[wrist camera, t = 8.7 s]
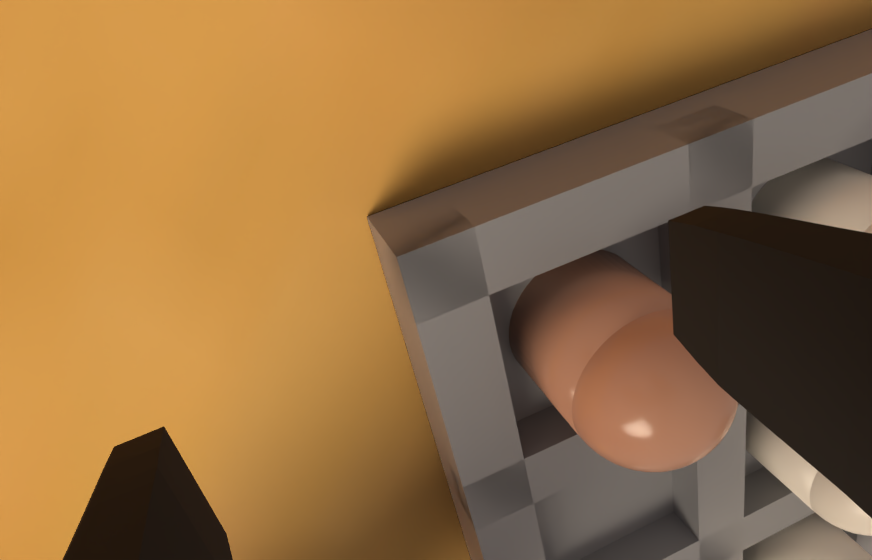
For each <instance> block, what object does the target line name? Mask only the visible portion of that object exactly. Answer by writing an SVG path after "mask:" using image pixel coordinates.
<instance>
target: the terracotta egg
mask: <svg viewBox="0 0 872 560" xmlns="http://www.w3.org/2000/svg"><path fill="white" fill-rule="evenodd" d="M509 342H510V347H511V350H512V353H513V355H514V357H515V359H516V360H517V362H518V363H519V364H520V366H521V367H522V368H523V369H524V370H525V372H526V373H527V374H528V375H529V376H530V378H531V379H532V380H533V381H534V382H535V384H536V385H537V386H538V387H539V388H540V390H541V391H542V392H543V393H544V394H545V396H546V397H547V398H548V399H549V400H550V402H551V403H552V404H553V405H554V406H555V408H556V409H557V410H558V411H559V412H560V414H561V415H562V416H563V417H564V418H565V420H566V421H567V422H568V423H569V424H570V426H571V427H572V428H573V429H574V430H575V432H576V433H577V434H578V435H579V436H580V438H581V439H582V440H583V441H584V442H585V443H586V444H587V445H588V446H589V447H590V448H591V449H592V450H593V451H595V452H596V453H597V454H599V455H600V456H601V457H603V458H605V459H606V460H608V461H610V462H612V463H614V464H616V465H618V466H621V467H624V468H627V469H630V470H635V471H641V472H668V471H672V470H676V469H680V468H683V467H686V466H689V465H691V464H693V463H695V462H697V461H698V460H700V459H702V458H703V457H705V456H706V455H707V454H709V453H710V452H711V451H712V450H713V449H714V448H716V446H717V445H718V444H719V443H720V442H721V441H722V440H723V438H724V437H725V435H726V434H727V432H728V431H729V429H730V427H731V425H732V423H733V421H734V418H735V415H736V412H737V408H738V402H737V401H736V400H734V399H733V398H732V397H731V396H730V395H729V394H728V393H727V392H725V391H724V390H723V389H722V388H721V387H720V386H719V385H718V384H717V383H716V382H715V381H714V380H713V379H712V378H711V377H710V376H709V375H708V373H707V372H706V371H705V370H704V369H703V368H702V367H701V366H700V365H699V364H698V363H697V361H696V360H695V359H694V358H693V357H692V356H691V354H690V353H689V352H688V351H687V350H686V349H685V347H684V346H683V345H682V344H681V343H680V341H679V340H678V339H677V338H676V337H675V336H674V334H673V315H672V294H670V293H669V292H668V291H666V290H665V289H664V288H662V287H661V286H659V285H658V284H657V283H655V282H654V281H653V280H651V279H650V278H649V277H647V276H646V275H644V274H643V273H642V272H640V271H639V270H638V269H636V268H635V267H634V266H632V265H631V264H630V263H628V262H627V261H625V260H624V259H623V258H621V257H620V256H618V255H616V254H614V253H612V252H609V251H605V250H598V251H596V252H593V253H591V254H589V255H586V256H584V257H581V258H579V259H576V260H574V261H571V262H569V263H567V264H564V265H562V266H559V267H557V268H554V269H552V270H549V271H547V272H545V273H542V274H540V275H537V276H535V277H534V278H533V279H532V280H531V281H530V283H529V284H528V285H527V286H526V288H525V289H524V290H523V292H522V293H521V295H520V297H519V299H518V300H517V302H516V305H515V307H514V309H513V312H512V316H511V319H510V325H509Z"/></svg>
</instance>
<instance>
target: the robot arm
mask: <svg viewBox="0 0 872 560" xmlns="http://www.w3.org/2000/svg"><path fill="white" fill-rule="evenodd" d="M668 229H669V250H670V272H671V293H672V315H673V334H674V336H675V337H676V338H677V339H678V340H679V341H680V343H681V344H682V345H683V346H684V347H685V349H686V350H687V351H688V352H689V353H690V354H691V356H692V357H693V358H694V359H695V360H696V361H697V363H698V364H699V365H700V366H701V367H702V368H703V369H704V370H705V371H706V372H707V373H708V375H709V376H710V377H711V378H712V379H713V380H714V381H715V382H716V383H717V384H718V385H719V386H720V387H721V388H722V389H723V390H724V391H725V392H727V393H728V394H729V395H730V396H731V397H732V398H733V399H734V400H736V401H737V402H738V403H739V404H740V405H741V406H743V407H744V408H745V409H746V410H747V411H748V412H749V413H751V414H752V415H753V416H754V417H755V418H756V419H758V420H759V421H760V422H761V423H762V424H763V425H765V426H766V427H767V428H768V429H769V430H770V431H772V432H773V433H774V434H775V435H776V436H777V437H779V438H780V439H781V440H782V441H783V442H785V443H786V444H787V445H788V446H789V447H790V448H792V449H793V450H794V451H795V452H796V453H798V454H799V455H800V456H801V457H802V458H803V459H805V460H806V461H807V462H808V463H809V464H810V465H812V466H813V467H814V468H815V469H816V470H818V471H819V472H820V473H821V474H822V475H823V476H825V477H826V478H827V479H828V480H829V481H830V482H832V483H833V484H834V485H835V486H836V487H838V488H839V489H840V490H841V491H842V492H843V493H844V494H846V495H847V496H848V497H849V498H850V499H851V500H852V501H853V502H854V503H855V504H856V505H858V506H859V507H860V508H861V509H862V510H863V511H864V512H865V513H866V514H867V515H868V516H869V517H871V518H872V233H866V232H860V231H855V230H849V229H844V228H838V227H833V226H828V225H822V224H817V223H812V222H806V221H801V220H796V219H790V218H785V217H780V216H774V215H768V214H763V213H757V212H751V211H745V210H739V209H732V208H724V207H715V206H702V207H700V208H697V209H695V210H692V211H690V212H688V213H685V214H683V215H680V216H678V217H675V218H673V219H670V220H668ZM63 560H233V559H232V555H231V551H230V547H229V543H228V539H227V535H226V532H225V531H224V529H223V527H222V525H221V524H220V522H219V520H218V519H217V517H216V515H215V513H214V512H213V510H212V508H211V506H210V505H209V503H208V501H207V500H206V498H205V496H204V494H203V493H202V491H201V489H200V488H199V486H198V484H197V482H196V481H195V479H194V477H193V476H192V474H191V472H190V470H189V469H188V467H187V465H186V463H185V462H184V460H183V458H182V457H181V455H180V453H179V451H178V450H177V448H176V446H175V445H174V443H173V441H172V439H171V438H170V436H169V434H168V433H167V431H166V429H165V427H161V428H159V429H157V430H154V431H152V432H149V433H147V434H144V435H142V436H139V437H137V438H135V439H132V440H130V441H127V442H125V443H122V444H120V445H117V446H115V447H114V448H113V450H112V452H111V454H110V456H109V458H108V461H107V463H106V465H105V467H104V469H103V471H102V473H101V476H100V478H99V480H98V482H97V485H96V487H95V489H94V491H93V494H92V496H91V498H90V500H89V503H88V505H87V507H86V509H85V512H84V514H83V516H82V518H81V521H80V523H79V525H78V527H77V529H76V532H75V534H74V536H73V538H72V541H71V543H70V545H69V547H68V549H67V551H66V554H65V556H64V558H63Z"/></svg>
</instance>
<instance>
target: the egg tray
mask: <svg viewBox="0 0 872 560" xmlns="http://www.w3.org/2000/svg"><path fill="white" fill-rule="evenodd" d="M702 206H715V207H724V208H732V209H739V210H745V211H751V212H757V213H763V214H768V215H774V216H780V217H785V218H790V219H796V220H801V221H806V222H812V223H817V224H822V225H828V226H833V227H838V228H844V229H849V230H855V231H860V232H866V233H872V29H870V30H868V31H865V32H862V33H860V34H857V35H854V36H852V37H849V38H846V39H844V40H841V41H838V42H835V43H833V44H830V45H827V46H825V47H822V48H819V49H817V50H814V51H811V52H809V53H806V54H803V55H801V56H798V57H795V58H792V59H790V60H787V61H784V62H782V63H779V64H776V65H774V66H771V67H768V68H766V69H763V70H760V71H757V72H755V73H752V74H749V75H747V76H744V77H741V78H739V79H736V80H733V81H731V82H728V83H725V84H723V85H720V86H717V87H714V88H712V89H709V90H706V91H704V92H701V93H698V94H696V95H693V96H690V97H688V98H685V99H682V100H679V101H677V102H674V103H671V104H669V105H666V106H663V107H661V108H658V109H655V110H653V111H650V112H647V113H645V114H642V115H639V116H636V117H634V118H631V119H628V120H626V121H623V122H620V123H618V124H615V125H612V126H610V127H607V128H604V129H601V130H599V131H596V132H593V133H591V134H588V135H585V136H583V137H580V138H577V139H575V140H572V141H569V142H567V143H564V144H561V145H558V146H556V147H553V148H550V149H548V150H545V151H542V152H540V153H537V154H534V155H532V156H529V157H526V158H523V159H521V160H518V161H515V162H513V163H510V164H507V165H505V166H502V167H499V168H497V169H494V170H491V171H489V172H486V173H483V174H480V175H478V176H475V177H472V178H470V179H467V180H464V181H462V182H459V183H456V184H454V185H451V186H448V187H445V188H443V189H440V190H437V191H435V192H432V193H429V194H427V195H424V196H421V197H419V198H416V199H413V200H411V201H408V202H405V203H402V204H400V205H397V206H394V207H392V208H389V209H386V210H384V211H381V212H378V213H376V214H373V215H370V216H367V219H368V222H369V226H370V229H371V232H372V235H373V239H374V242H375V245H376V249H377V252H378V255H379V258H380V262H381V265H382V268H383V272H384V275H385V278H386V281H387V285H388V288H389V291H390V295H391V298H392V301H393V305H394V308H395V311H396V314H397V318H398V321H399V324H400V328H401V331H402V334H403V337H404V341H405V344H406V347H407V351H408V354H409V357H410V360H411V364H412V367H413V370H414V374H415V377H416V380H417V383H418V387H419V390H420V393H421V397H422V400H423V403H424V407H425V410H426V413H427V416H428V420H429V423H430V426H431V430H432V433H433V436H434V439H435V443H436V446H437V449H438V453H439V456H440V459H441V462H442V466H443V469H444V472H445V476H446V479H447V482H448V485H449V489H450V492H451V495H452V499H453V502H454V505H455V509H456V512H457V515H458V518H459V522H460V525H461V528H462V532H463V535H464V538H465V541H466V545H467V548H468V551H469V555H470V558H471V560H872V518H871V517H869V516H868V515H867V514H866V513H865V512H864V511H863V510H862V509H861V508H860V507H859V506H858V505H856V504H855V503H854V502H853V501H852V500H851V499H850V498H849V497H848V496H847V495H846V494H844V493H843V492H842V491H841V490H840V489H839V488H838V487H836V486H835V485H834V484H833V483H832V482H830V481H829V480H828V479H827V478H826V477H825V476H823V475H822V474H821V473H820V472H819V471H818V470H816V469H815V468H814V467H813V466H812V465H810V464H809V463H808V462H807V461H806V460H805V459H803V458H802V457H801V456H800V455H799V454H798V453H796V452H795V451H794V450H793V449H792V448H790V447H789V446H788V445H787V444H786V443H785V442H783V441H782V440H781V439H780V438H779V437H777V436H776V435H775V434H774V433H773V432H772V431H770V430H769V429H768V428H767V427H766V426H765V425H763V424H762V423H761V422H760V421H759V420H758V419H756V418H755V417H754V416H753V415H752V414H751V413H749V412H748V411H747V410H746V409H745V408H744V407H743V406H741V405H740V404H739V403H738V408H737V412H736V415H735V418H734V421H733V423H732V425H731V427H730V429H729V431H728V432H727V434H726V435H725V437H724V438H723V440H722V441H721V442H720V443H719V444H718V445H717V446H716V448H714V449H713V450H712V451H711V452H710V453H709V454H707V455H706V456H705V457H703V458H702V459H700V460H698V461H697V462H695V463H693V464H691V465H689V466H686V467H683V468H680V469H676V470H672V471H668V472H641V471H635V470H630V469H627V468H624V467H621V466H618V465H616V464H614V463H612V462H610V461H608V460H606V459H605V458H603V457H601V456H600V455H599V454H597V453H596V452H595V451H593V450H592V449H591V448H590V447H589V446H588V445H587V444H586V443H585V442H584V441H583V440H582V439H581V438H580V436H579V435H578V434H577V433H576V432H575V430H574V429H573V428H572V427H571V426H570V424H569V423H568V422H567V421H566V420H565V418H564V417H563V416H562V415H561V414H560V412H559V411H558V410H557V409H556V408H555V406H554V405H553V404H552V403H551V402H550V400H549V399H548V398H547V397H546V396H545V394H544V393H543V392H542V391H541V390H540V388H539V387H538V386H537V385H536V384H535V382H534V381H533V380H532V379H531V378H530V376H529V375H528V374H527V373H526V372H525V370H524V369H523V368H522V367H521V366H520V364H519V363H518V362H517V360H516V359H515V357H514V355H513V353H512V350H511V347H510V342H509V325H510V319H511V316H512V312H513V309H514V307H515V305H516V302H517V300H518V299H519V297H520V295H521V293H522V292H523V290H524V289H525V288H526V286H527V285H528V284H529V283H530V281H531V280H532V279H533V278H534V277H535V276H537V275H540V274H542V273H545V272H547V271H549V270H552V269H554V268H557V267H559V266H562V265H564V264H567V263H569V262H571V261H574V260H576V259H579V258H581V257H584V256H586V255H589V254H591V253H593V252H596V251H598V250H605V251H609V252H612V253H614V254H616V255H618V256H620V257H621V258H623V259H624V260H625V261H627V262H628V263H630V264H631V265H632V266H634V267H635V268H636V269H638V270H639V271H640V272H642V273H643V274H644V275H646V276H647V277H649V278H650V279H651V280H653V281H654V282H655V283H657V284H658V285H659V286H661V287H662V288H664V289H665V290H666V291H668V292H669V293H670V294H672V293H671V272H670V250H669V229H668V220H670V219H673V218H675V217H678V216H680V215H683V214H685V213H688V212H690V211H692V210H695V209H697V208H700V207H702Z"/></svg>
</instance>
